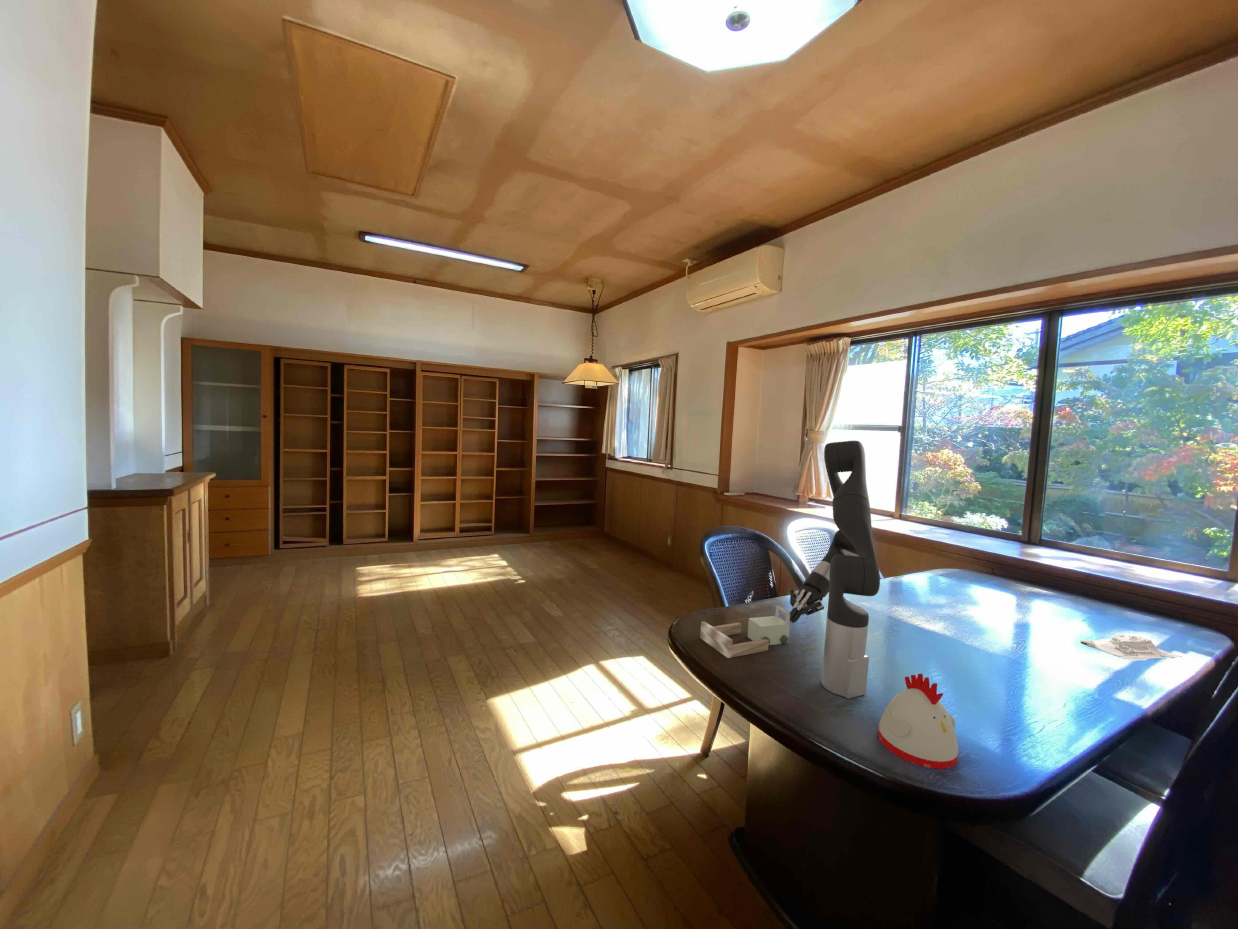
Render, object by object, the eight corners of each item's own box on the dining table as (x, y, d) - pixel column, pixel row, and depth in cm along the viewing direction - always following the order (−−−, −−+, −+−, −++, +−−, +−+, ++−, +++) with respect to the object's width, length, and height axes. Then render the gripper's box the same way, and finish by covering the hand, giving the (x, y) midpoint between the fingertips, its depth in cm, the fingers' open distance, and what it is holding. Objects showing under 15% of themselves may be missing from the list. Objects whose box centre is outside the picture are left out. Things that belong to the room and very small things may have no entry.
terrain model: (1075, 648, 157) (1077, 633, 157) (1113, 636, 166) (1114, 622, 166) (1147, 672, 142) (1148, 655, 142) (1184, 658, 151) (1185, 642, 151)
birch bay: (768, 650, 140) (769, 633, 140) (727, 658, 134) (729, 640, 134) (738, 631, 152) (739, 616, 152) (700, 638, 146) (701, 621, 146)
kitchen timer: (917, 774, 91) (925, 697, 90) (863, 729, 105) (869, 662, 103) (974, 764, 95) (983, 690, 94) (914, 722, 108) (921, 657, 107)
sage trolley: (789, 644, 145) (792, 613, 145) (760, 647, 142) (763, 615, 142) (774, 633, 153) (776, 604, 152) (746, 636, 150) (748, 606, 149)
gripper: (801, 565, 161) (769, 605, 157) (834, 577, 149) (800, 621, 145) (811, 579, 163) (780, 619, 159) (844, 593, 151) (812, 636, 147)
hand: (790, 620), depth 152 cm, fingers closed
